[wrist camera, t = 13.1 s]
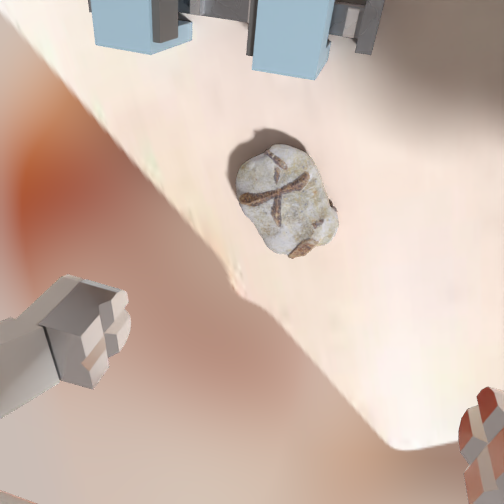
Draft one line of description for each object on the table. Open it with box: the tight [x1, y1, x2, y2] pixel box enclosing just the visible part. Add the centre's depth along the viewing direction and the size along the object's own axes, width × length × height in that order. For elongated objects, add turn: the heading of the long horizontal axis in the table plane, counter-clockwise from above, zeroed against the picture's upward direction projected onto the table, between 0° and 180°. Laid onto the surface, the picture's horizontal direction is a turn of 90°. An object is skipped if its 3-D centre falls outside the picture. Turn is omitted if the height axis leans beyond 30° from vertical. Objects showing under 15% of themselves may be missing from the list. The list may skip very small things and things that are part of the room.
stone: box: [236, 144, 339, 259], centre depth 41 cm, size 12×9×3 cm
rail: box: [88, 0, 385, 55], centre depth 32 cm, size 23×4×4 cm, turn 84°
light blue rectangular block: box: [246, 0, 335, 80], centre depth 29 cm, size 5×6×8 cm
